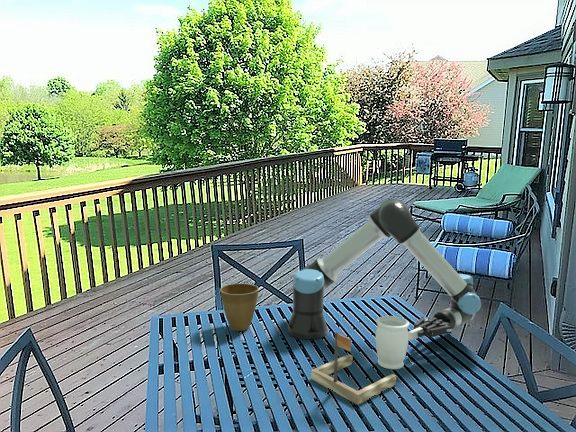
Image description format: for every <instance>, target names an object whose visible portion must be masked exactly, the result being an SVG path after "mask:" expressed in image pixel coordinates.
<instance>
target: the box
mask: <svg viewBox="0 0 576 432" xmlns="http://www.w3.org/2000/svg"><path fill="white" fill-rule="evenodd" d="M351 347H352V338H349V337H347V336H345V335H342V334H341V333H339V331H338V332H337V331H335V332H334V353H333V354H334V355H333V357H334V360H331V361H329V362H327V363H324V364H322V365H320V366H318V367H315V368H313V369H311V370H310V373H311V374H310V380H312V381H314V382H316V383H317V384H319V385H321V386H322V387H325V388H326V389H328V388H329V389H328V390H330V389H331V390H330V391H332V390H333V391H332V392H334V393H335V392H336V393H335V394H337V395H339V396H341V397H342V398H345V399H347V400H348V401H350V402H352V403H353V404H355V405H356V406H359V405H361V404H363V403H365V402H367V401H368V400H370V399H371V398H370V397H372V396H374V395H376V396H378V395H379V394H381V391H383V390H384V389H387V388H389V389H391V388H393V387H394V385H395V386H397V375H396V374H394V373H391V374H389V375H387V376H386V377H385V376H384V377H383V378H381V379H379V380H377V381H375V382H374V383H372V384H369V385H367V386H365V387H363V388H361V389H359V390H356V389H355V388H353V387H350V386H349V385H347V384H345V383H344V382H341V381H339V380H338V371H340V370H342V369H344V368H347V367H350V366H351V365H353V357H354V356H353V355H352V354H351V353H350V354H348V353H347V354H346V355H343V356H342V357H339V348H341V349H342V350H345V351H347V352H351V351H352V350H351ZM331 374H333V377H332V376H330V375H331ZM387 390H388V389H387ZM383 392H384V391H383ZM374 397H375V396H374ZM369 398H370V399H369ZM372 398H373V397H372Z"/></svg>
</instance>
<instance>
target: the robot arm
mask: <svg viewBox="0 0 576 432" xmlns="http://www.w3.org/2000/svg"><path fill="white" fill-rule="evenodd" d="M391 237H392V238H393V239H394V240H396V242H397V243H398V244H399V245H403V246H404V247H405V248H406V249H407V250H408V251H409V252H410V253H411V254H412V255H413V257H414V258H415V259H416V260H417V261H418V262H419V263H420V264H421V266H423V268H424V269H425V270H426V271H427V272H428V273H429V274H430V275H431V276H432V278H433V279H434V280H435V281H436V282H437V283H438V284H439V285H440V287H442V289H443V290H445V292H446V293H447V295H449V296H450V307H448V308H445V309H443V310H441V311H438V312H436V313H435V314H434V315H433V316H432V317H429V318H427V319H426V318H425V317H424V316H420V318H419V320H417V321H415V323H414V324H413V329H411V330H408V336H409V340H408V341H414V340H417V339H418V338H422V337H427V336H428V337H429V338H434V337H438V336H443V335H446V334H452V332H453V329H456V328H458V327H461V326H462V325H464V324H467V323H469V322H471V321H472V320H473V319H474V318H475V317H476V316H475V315H476V313H477V312H479V310H480V309H481V307H482V301H481V299H480V296H479V295H478V294H477V292H476V291H475V289H474V287H473V286H474V277H473V276H471V275H468V274H465V273H464V274H463V273H458V272H457V270H456V269H455V268H453V266H452V265H451V264H450V263H449V262H448V261H447V260H446V258H445V257H444V256H443V255H442V254H441V252H440V251H438V249H437V248H436V247H435V246H434V244H432V243H431V241H430V240H428V238H427V237H426V236H425V234H423V233H422V232H421V226H420V225H419V224H418V223H417V222H416V220H415V219H414V217H413V216H412V213H411V212H410V209H409V206H408V205H407V204H406V203H405V202H404V200H402V199H400V198H396V197H394V198H387V199H386V200H384V201H383V202H381V204H380V205H379V206H378V207H377V208H376V209H375V210H374V211H373V212H372V213H370V214H369V215H368V221H367V222H366V223H364V224H363V225H362V226H361V227H360V228H358V229H357V230H356V231H355V232H354V233H352V234H351V235H350V236H348V238H346V239H345V240H344V241H343V242H342V243H341V244H339V245H338V246H337V247H335V248H334V249H333V250H332V251H331V252H330V253H328V254H327V255H326V256H324V258H319V257H318V258H317V259H315V260H314V261H313V262H312V263H310V264H308V265H306V266H305V267H304V268H303V269H301V270H298V271H296V272H295V274H294V275H293V279H292V287H293V288H292V290H293V291H292V294H293V295H292V314H291V316H290V319H289V323H288V325H287V333H288V334H289V335H290V336H292V337H294V338H297V339H302V340H316V339H317V340H318V339H321V338H323V337H325V336H326V335H327V334H328V325H327V322H326V318H325V315H324V295H325V291H326V289H328V288H329V287H330V286H331V285H333V284H334V283H335V282H337V276H338V275H339V274H341V272H342V271H344V270H345V269H347V268H348V266H351V264H352V263H354V262H356V260H357V259H358V258H360V257H361V256H362V255H363V254H364V253H366V252H367V251H368V250H370V249H371V248H372V247H374V245H376V244H377V243H379V241H381V240H382V239H390V238H391Z"/></svg>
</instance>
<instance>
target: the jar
mask: <svg viewBox="0 0 576 432" xmlns="http://www.w3.org/2000/svg"><path fill="white" fill-rule="evenodd" d="M375 322H376V325H377V327H376V331H375V348H376V353H377V356H378V359H377V364H378V365H379V366H380V367H382V368H385V369H386V370H400V369H402V368H403V367H404V365H405V363H404V359H406V354H407V350H408V348H409V347H408V346H409V341H410V340H409V336H408V332H409V327H410V322H409V320H407V319H406V318H405V317H404V318H403V317H400V316H394V315H383V316H380V317H378V318H377V319H376V321H375Z"/></svg>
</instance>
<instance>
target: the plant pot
mask: <svg viewBox="0 0 576 432" xmlns="http://www.w3.org/2000/svg"><path fill="white" fill-rule="evenodd" d="M259 289H260V288H259V287H258V286H257V285H254V284H253V283H251V284H250V283H231V284H227V285H224V286H222V287H220V289H219V290H220V297H221V302H222V307H223V311H224V314H225V317H226V321H227V322H228V325H229V328H230V330H232V331H235V332H242V331H243V332H244V331H248V330H249V329H250V327H251V324H252V321H253V317H254V314H255V311H256V308H257V307H256V306H257V302H258V297H259V296H258V295H259V291H260V290H259Z"/></svg>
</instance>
